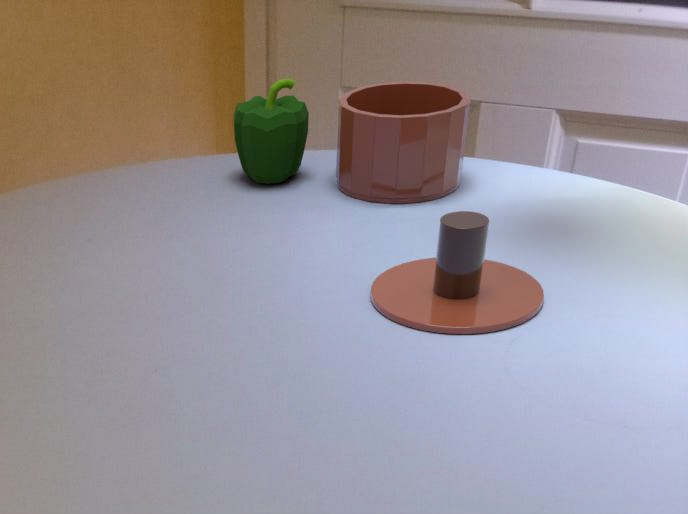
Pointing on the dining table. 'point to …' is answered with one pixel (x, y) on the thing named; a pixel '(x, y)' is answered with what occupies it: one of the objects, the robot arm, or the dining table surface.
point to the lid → (458, 285)
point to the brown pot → (401, 141)
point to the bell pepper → (271, 134)
